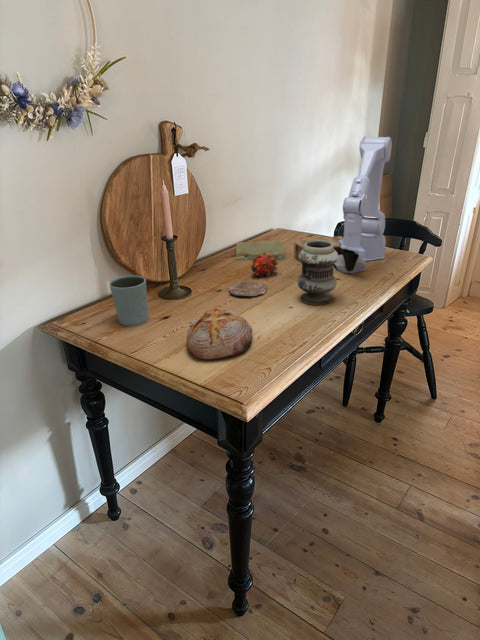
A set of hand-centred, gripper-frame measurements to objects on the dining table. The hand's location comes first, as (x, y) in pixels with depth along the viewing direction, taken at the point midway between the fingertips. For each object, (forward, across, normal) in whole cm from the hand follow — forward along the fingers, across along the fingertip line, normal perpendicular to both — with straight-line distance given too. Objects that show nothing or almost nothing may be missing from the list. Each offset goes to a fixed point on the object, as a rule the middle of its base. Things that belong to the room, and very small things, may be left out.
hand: (349, 270), depth 166 cm
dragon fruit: (+2, -12, -28) cm, 30 cm away
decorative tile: (+2, -36, -20) cm, 41 cm away
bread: (+2, +32, -58) cm, 66 cm away
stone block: (+2, -6, +3) cm, 7 cm away
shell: (+2, +1, -39) cm, 39 cm away
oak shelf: (+1, -20, 0) cm, 20 cm away
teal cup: (+2, +8, -77) cm, 77 cm away
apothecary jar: (+2, +15, -21) cm, 26 cm away
